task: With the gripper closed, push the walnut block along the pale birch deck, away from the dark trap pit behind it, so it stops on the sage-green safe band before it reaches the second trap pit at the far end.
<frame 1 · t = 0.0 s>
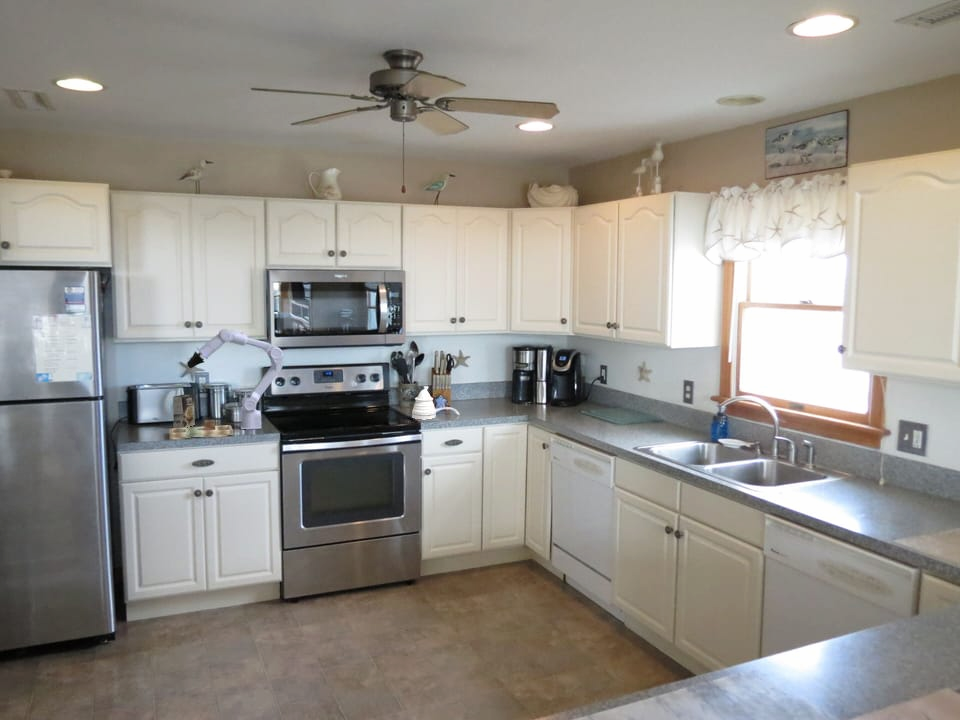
hand: (188, 366, 357), 32 cm above the worktop, tool tilted 50°, fingers open, 7 cm apart
coffee box: (184, 427, 370), on the worktop
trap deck: (201, 434, 354), on the worktop
honey pot: (423, 420, 402), on the worktop
walnut block: (210, 429, 355), point 2 cm above the worktop, touching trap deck
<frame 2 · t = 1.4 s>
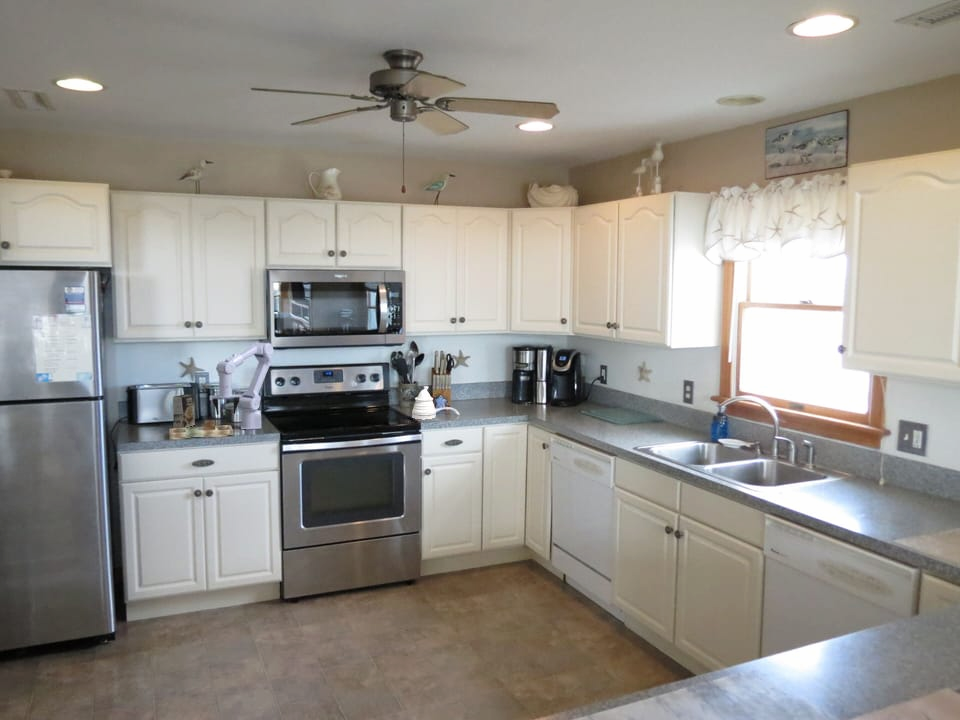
hand: (226, 414, 357), 9 cm above the worktop, tool pointing down, fingers open, 7 cm apart
nothing on the worktop moved.
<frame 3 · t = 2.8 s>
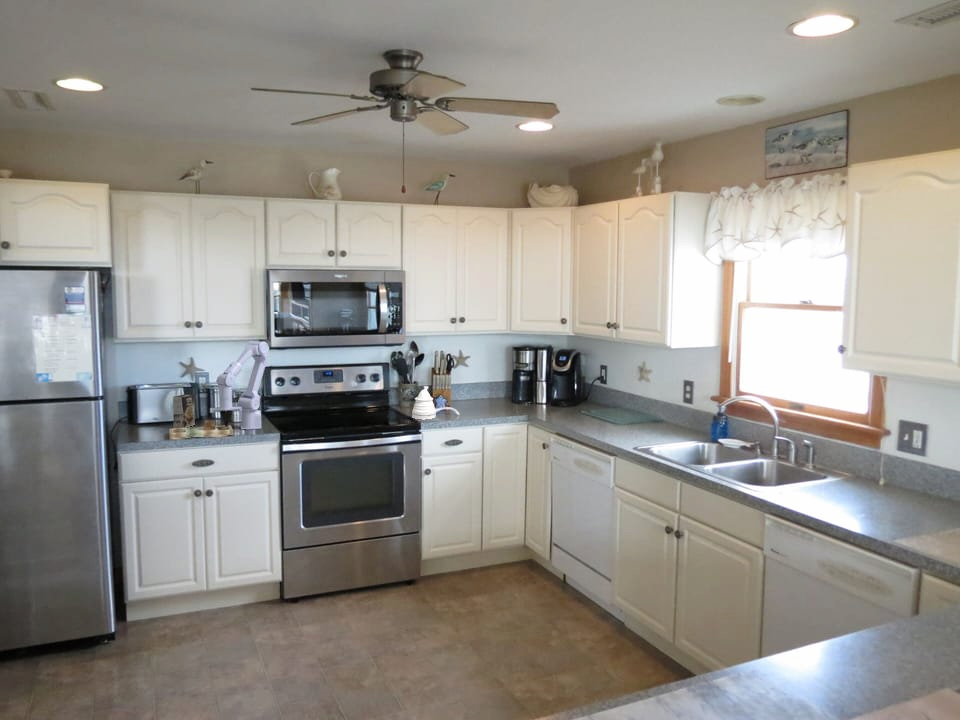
hand: (226, 426, 358), 3 cm above the worktop, tool pointing down, fingers closed
nothing on the worktop moved.
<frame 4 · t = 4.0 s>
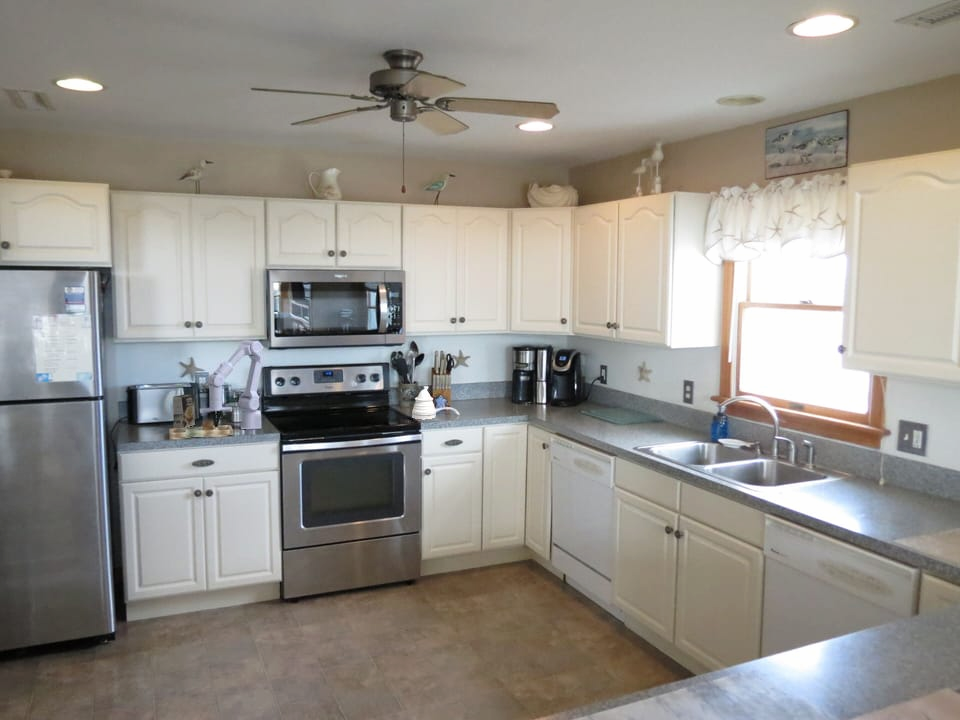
hand: (216, 426, 356), 3 cm above the worktop, tool pointing down, fingers closed
walnut block: (208, 429, 355), point 3 cm above the worktop, touching gripper
everything else where it was.
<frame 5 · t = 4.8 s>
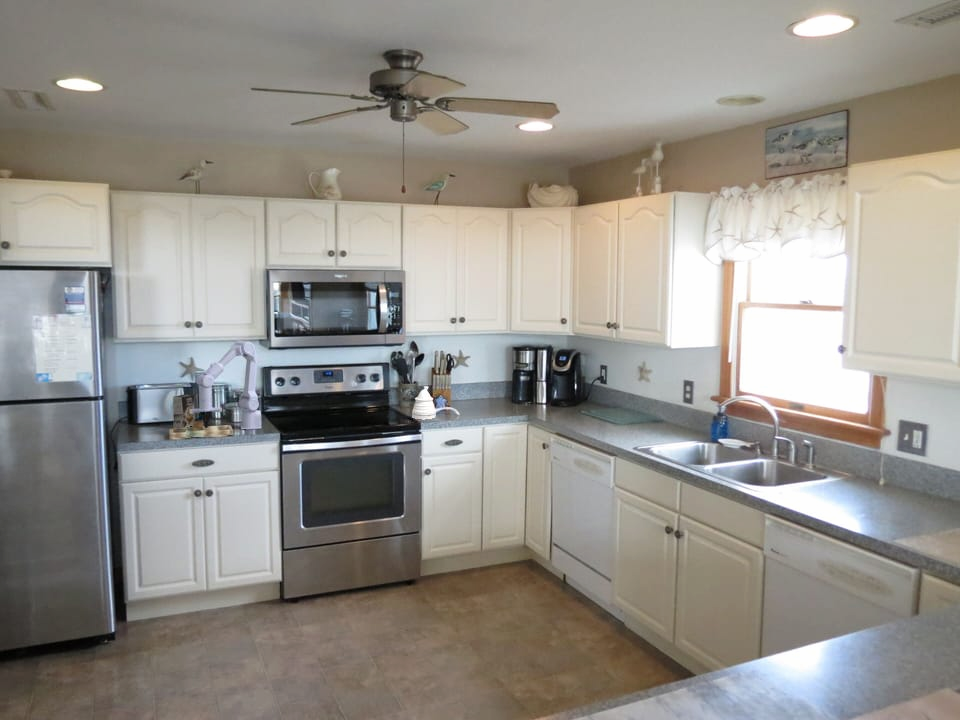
hand: (206, 427, 354), 3 cm above the worktop, tool pointing down, fingers closed
walnut block: (197, 429, 353), point 3 cm above the worktop, touching gripper, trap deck
everything else where it was.
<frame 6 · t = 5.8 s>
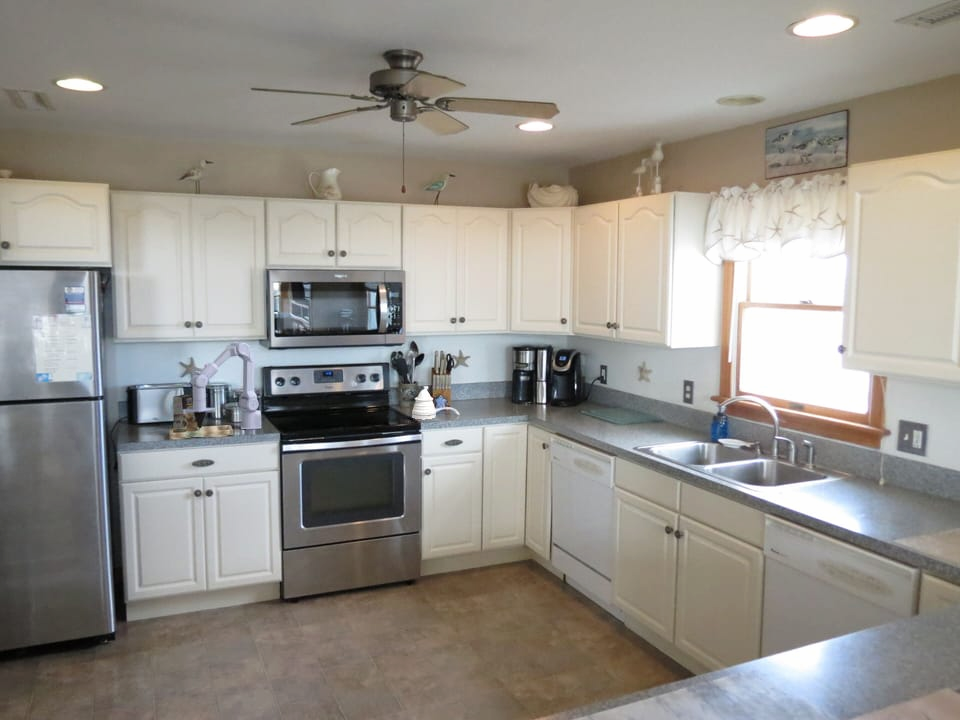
hand: (200, 427, 353), 3 cm above the worktop, tool pointing down, fingers closed
walnut block: (191, 430, 352), point 2 cm above the worktop, touching gripper, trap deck
everything else where it was.
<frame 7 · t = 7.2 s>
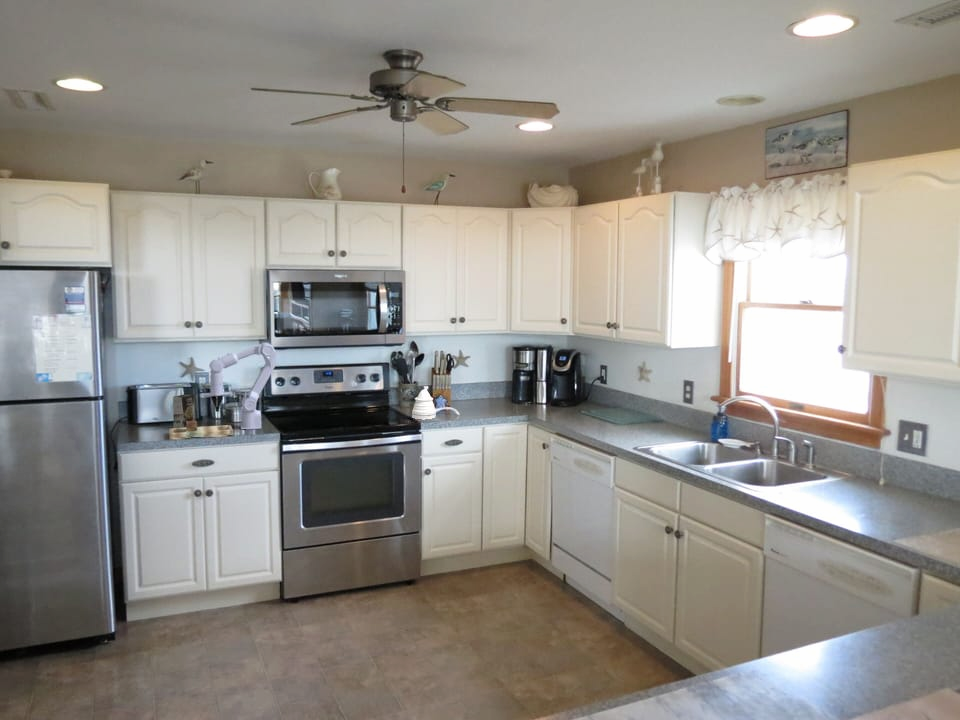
hand: (217, 411, 364), 9 cm above the worktop, tool pointing down, fingers closed
walnut block: (191, 430, 352), point 2 cm above the worktop, touching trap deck
everything else where it was.
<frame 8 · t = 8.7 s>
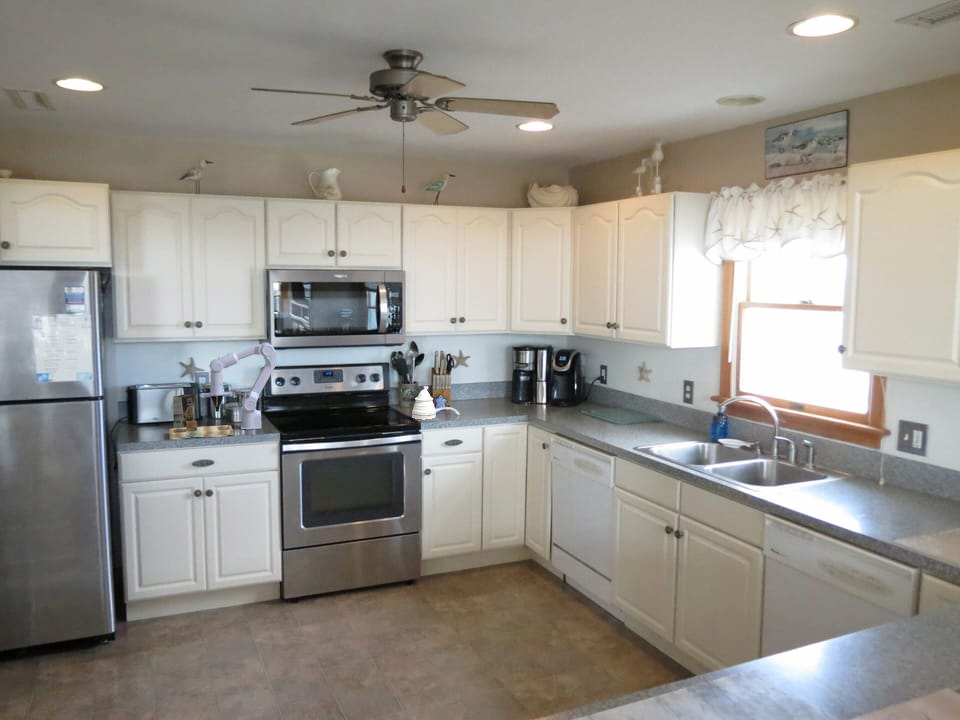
hand: (217, 411, 364), 9 cm above the worktop, tool pointing down, fingers closed
nothing on the worktop moved.
at the end: walnut block 1.2 cm from the target spot, point 2.5 cm above the worktop; walnut block tilted 0° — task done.
